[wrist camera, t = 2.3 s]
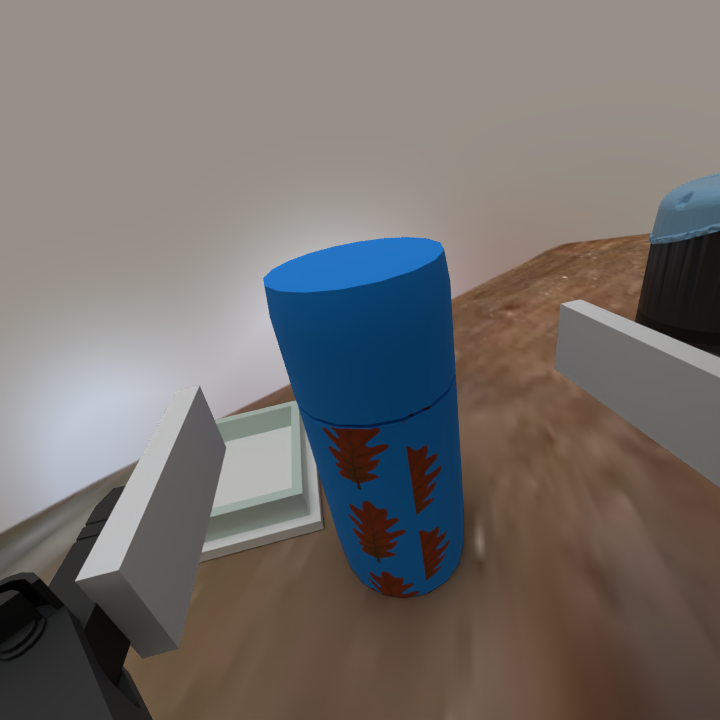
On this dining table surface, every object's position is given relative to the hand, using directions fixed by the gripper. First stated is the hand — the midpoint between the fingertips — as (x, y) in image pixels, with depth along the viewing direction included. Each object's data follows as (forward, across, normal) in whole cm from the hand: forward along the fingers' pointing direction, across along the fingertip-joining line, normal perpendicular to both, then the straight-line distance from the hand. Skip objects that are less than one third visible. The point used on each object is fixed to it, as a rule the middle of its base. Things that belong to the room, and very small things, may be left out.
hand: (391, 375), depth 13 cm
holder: (+22, -15, -23) cm, 35 cm away
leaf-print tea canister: (+10, +1, -23) cm, 25 cm away
